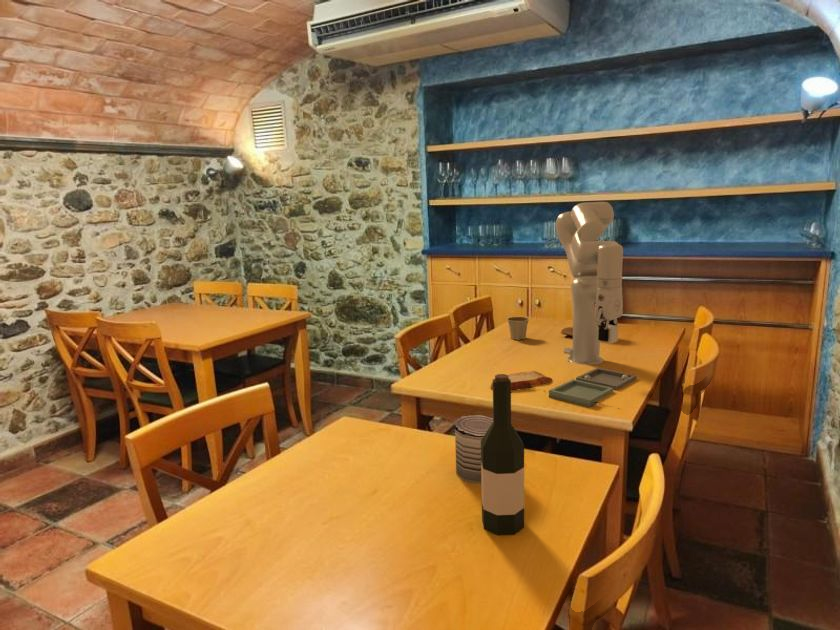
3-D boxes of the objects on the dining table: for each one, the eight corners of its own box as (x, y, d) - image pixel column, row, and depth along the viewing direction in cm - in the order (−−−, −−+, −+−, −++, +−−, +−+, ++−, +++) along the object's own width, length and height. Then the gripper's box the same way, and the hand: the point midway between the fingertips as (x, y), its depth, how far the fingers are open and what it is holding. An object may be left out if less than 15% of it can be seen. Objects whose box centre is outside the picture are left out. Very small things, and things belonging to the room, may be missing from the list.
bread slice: (486, 391, 191) (486, 380, 191) (504, 375, 207) (504, 364, 206) (541, 397, 183) (541, 386, 183) (555, 380, 199) (555, 369, 199)
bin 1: (548, 397, 183) (548, 390, 182) (572, 385, 192) (572, 379, 192) (590, 407, 173) (590, 400, 173) (613, 394, 183) (613, 388, 182)
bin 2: (575, 384, 194) (576, 376, 193) (597, 373, 203) (597, 366, 203) (616, 393, 184) (616, 384, 184) (636, 381, 194) (636, 374, 193)
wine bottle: (495, 540, 110) (493, 386, 103) (473, 518, 117) (470, 373, 111) (533, 529, 113) (533, 378, 107) (509, 508, 120) (509, 366, 114)
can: (467, 457, 144) (466, 410, 142) (511, 465, 139) (511, 417, 136) (447, 477, 134) (445, 428, 132) (494, 487, 129) (494, 436, 126)
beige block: (596, 341, 191) (597, 326, 190) (603, 338, 194) (603, 323, 193) (611, 343, 188) (611, 328, 187) (617, 341, 191) (618, 325, 190)
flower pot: (507, 335, 260) (506, 316, 258) (528, 335, 259) (528, 316, 257) (507, 341, 251) (507, 321, 249) (529, 341, 250) (529, 321, 248)
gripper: (607, 288, 179) (605, 346, 183) (632, 280, 190) (630, 335, 194) (584, 286, 184) (583, 342, 188) (610, 278, 195) (609, 332, 199)
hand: (607, 338), depth 191 cm, fingers closed on beige block, 4 cm apart
